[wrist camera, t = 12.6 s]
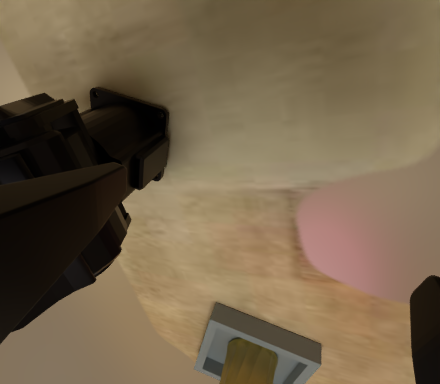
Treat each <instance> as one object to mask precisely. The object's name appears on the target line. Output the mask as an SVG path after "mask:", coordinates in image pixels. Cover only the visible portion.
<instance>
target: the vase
mask: <svg viewBox="0 0 440 384" xmlns="http://www.w3.org/2000/svg"><path fill="white" fill-rule="evenodd" d="M277 364H278V358H277V356H276V354H275V353H274V351H272V350H269V349H267V348H265V347H262V346H260V345H257V344H255V343H252V342H250V341H248V340H245V339H243V338H238V339H234V340H232V341H230V342H229V344H228V346H227V354H226V358H225V362H224V366H223V370H222V375H221V379H220V384H273V380H274V375H275V370H276V367H277Z"/></svg>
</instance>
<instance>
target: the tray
mask: <svg viewBox="0 0 440 384" xmlns="http://www.w3.org/2000/svg"><path fill="white" fill-rule="evenodd" d="M238 338H243V339H245V340H248V341H250V342H252V343H255V344H257V345H260V346H262V347H265V348H267V349H269V350H272V351H274V353H275V354H276V356H277V358H278V364H277V367H276V370H275V375H274V380H273V384H305V383H306V382H307V380H308V379H309V378H310V377H311V376H312V375H313V374H314V373H315V371H316V370H317V369H318V368H319V367H320V366H321V344H319V343H317V342H314V341H312V340H309V339H307V338H304V337H302V336H299V335H297V334H294V333H292V332H289V331H287V330H284V329H282V328H279V327H277V326H274V325H272V324H269V323H267V322H264V321H262V320H259V319H257V318H254V317H252V316H249V315H247V314H244V313H242V312H239V311H237V310H234V309H232V308H230V307H227V306H225V305H222V304H220V303H217V302H216V304H215V307H214V310H213V312H212V315H211V318H210V321H209V324H208V327H207V330H206V333H205V336H204V339H203V342H202V345H201V348H200V351H199V354H198V358H197V361H196V364H195V367H194V369H195V370H197V371H199V372H201V373H204V374H206V375H208V376H211V377H213V378H215V379H217V380H220V379H221V375H222V370H223V366H224V362H225V358H226V354H227V346H228V344H229V342H230V341H232V340H234V339H238Z"/></svg>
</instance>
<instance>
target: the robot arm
mask: <svg viewBox="0 0 440 384" xmlns="http://www.w3.org/2000/svg"><path fill="white" fill-rule="evenodd" d="M96 92H97V93H98V95H99V96H97V94H96ZM90 101H91V109H89V110H87V111H85V112H82V113H80V114H79V112H78V110H77V109H78V105H77V103H76V101H75V99H72V100H68V101H64V100H63V99H59V100H54V99H53V98H51V97H50V96H48V95H47V94H46V93H42V94H38V95H35V96H32V97H29V98H25V99H21V100H18V101H15V102H12V103H8V104H5V105H2V106H0V344H1V343H2V342H3V340H4V339H5V338H6V337H7V336H8V335H9V334H10V332H13V331H16V330H19V329H21V328H23V327H25V326H26V325H27V324H29V323H30V322H31V321H32V320H34V319H35V318H36V317H38V316H39V315H40V314H41V313H43V312H44V311H45V310H47V309H48V308H49V307H51V306H52V305H53V304H55V303H56V302H58V301H59V300H61V299H62V298H64V297H66V296H68V295H69V294H71V293H73V292H74V291H77V290H79V289H81V288H84V287H86V286H88V285H91V284H93V283H94V282H95V281H96V278H95V277H96V276H98V275H99V274H101V273H102V272H104V271H105V270H106V269H107V268H108V267H109V266H110V265H111V264H112V262H113V261H114V259H116V258H117V256H118V255H119V254H120V252H121V250H122V248H121V244H122V242H123V240H124V238H125V236H126V234H127V229H128V227H129V224H130V222H131V218H130V215H129V213H126V211H125V208H124V206H123V204H122V201H123V200H124V199H126V198H127V197H128V196H129V195H130V194H131V193H132V192H133V191H134V190H135V189H137V190H141V189H143V188H144V187H145V186H146V185H147V184H148V183H149V182H150V181H151V180H154V181H159V180H161V178H162V177H163V170H164V167H165V166H166V165H167V155H168V146H169V138H168V136H167V130H168V119H169V113H168V111H167V110H166V109H165V108H163V107H160V106H157V105H154V104H151V103H147V102H144V101H141V100H138V99H135V98H132V97H128V96H125V95H122V94H119V93H116V92H113V91H109V90H106V89H103V88H100V87H95V88H92V89H91V90H90ZM160 112H161V113H163V116H164V117H162V116H161V115H160ZM156 175H158V177H157V176H156ZM410 321H411V348H412V359H413V367H414V374H415V381H416V384H440V277H438V276H435V275H431V276H429V277H427V278H426V279H425V280H424V281H423V282H422V283H421V284H420V285H419V286H418V287H417V288H416V289H415V290H414V291H413V293H412V295H411V297H410Z"/></svg>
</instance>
